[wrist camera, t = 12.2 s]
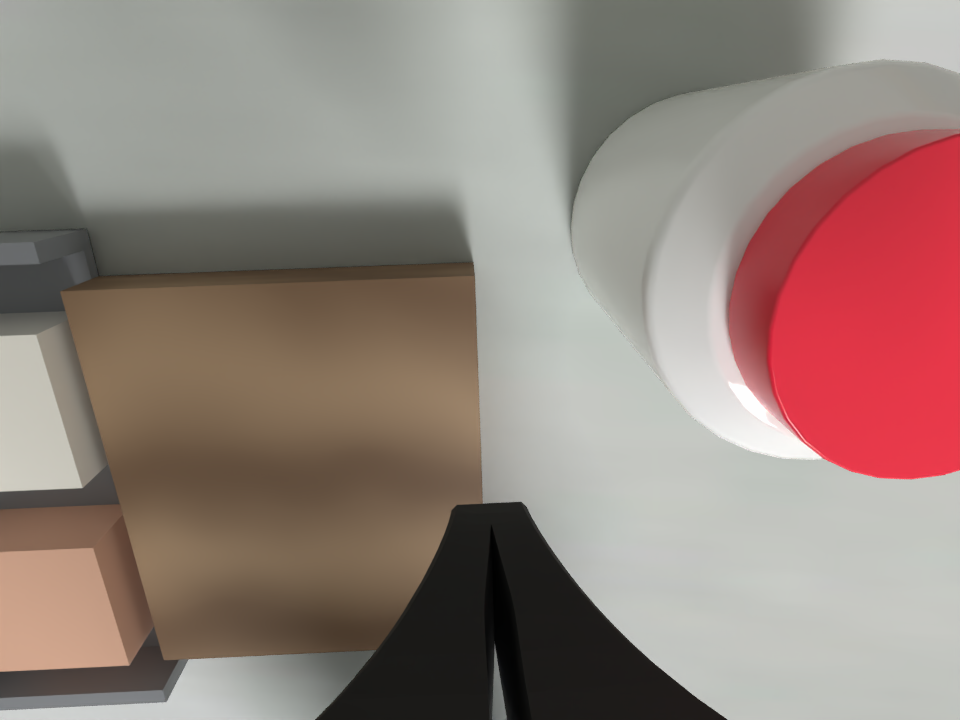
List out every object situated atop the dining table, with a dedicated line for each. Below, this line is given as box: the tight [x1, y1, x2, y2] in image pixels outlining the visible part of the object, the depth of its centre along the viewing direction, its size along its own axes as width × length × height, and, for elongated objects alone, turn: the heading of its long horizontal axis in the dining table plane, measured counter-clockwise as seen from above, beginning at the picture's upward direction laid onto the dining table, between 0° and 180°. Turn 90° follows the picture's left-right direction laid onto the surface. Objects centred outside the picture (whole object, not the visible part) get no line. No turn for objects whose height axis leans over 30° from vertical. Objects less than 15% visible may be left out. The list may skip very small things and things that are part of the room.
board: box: [60, 262, 483, 660], centre depth 21 cm, size 14×12×2 cm
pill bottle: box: [571, 59, 960, 479], centre depth 14 cm, size 8×8×11 cm
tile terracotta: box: [0, 504, 154, 672], centre depth 22 cm, size 5×5×2 cm
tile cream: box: [0, 311, 108, 492], centre depth 19 cm, size 5×5×2 cm
